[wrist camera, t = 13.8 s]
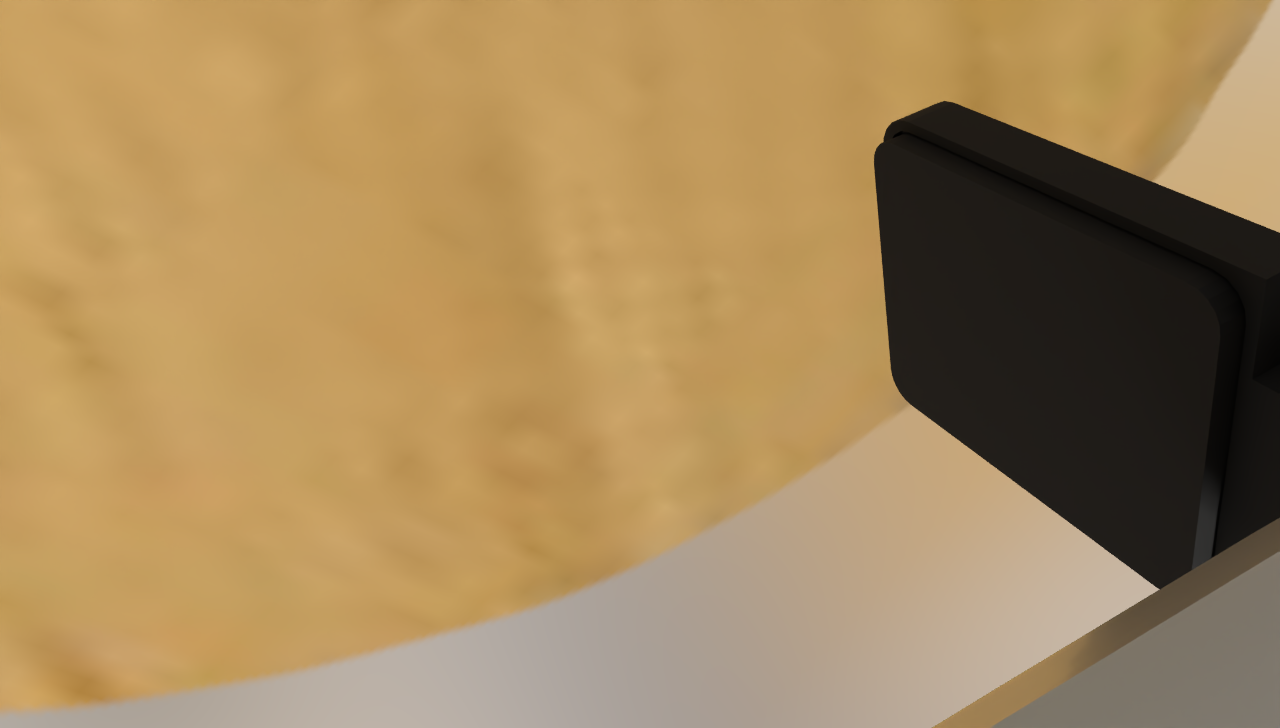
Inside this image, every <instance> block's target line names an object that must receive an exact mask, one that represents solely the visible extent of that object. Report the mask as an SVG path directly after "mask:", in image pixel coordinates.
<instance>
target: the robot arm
mask: <svg viewBox="0 0 1280 728" xmlns="http://www.w3.org/2000/svg"><path fill="white" fill-rule="evenodd" d="M874 169H875V181H876V193H877V205H878V217H879V229H880V241H881V253H882V265H883V278H884V290H885V302H886V314H887V326H888V338H889V350H890V362H891V371H892V376H893V379H894V382H895V384H896V386H897V388H898V390H899V392H900V393H901V394H902V396H903V397H904V398H905V400H906V401H908V402H909V403H910V404H911V405H912V406H913V407H915V408H916V409H918V410H919V411H920V412H922V413H923V414H924V415H926V416H927V417H928V418H930V419H931V420H932V421H934V422H935V423H936V424H938V425H939V426H940V427H942V428H943V429H944V430H946V431H947V432H948V433H950V434H951V435H952V436H954V437H955V438H957V439H958V440H959V441H961V442H962V443H963V444H964V445H966V446H967V447H968V448H970V449H971V450H973V451H974V452H975V453H977V454H978V455H979V456H981V457H982V458H983V459H985V460H986V461H987V462H989V463H990V464H991V465H993V466H994V467H996V468H997V469H998V470H999V471H1001V472H1002V473H1004V474H1005V475H1006V476H1007V477H1009V478H1011V479H1012V480H1013V481H1014V482H1016V483H1017V484H1018V485H1020V486H1021V487H1022V488H1024V489H1025V490H1026V491H1028V492H1029V493H1030V494H1032V495H1033V496H1034V497H1036V498H1037V499H1039V500H1040V501H1041V502H1042V503H1044V504H1045V505H1046V506H1048V507H1049V508H1051V509H1052V510H1053V511H1055V512H1056V513H1057V514H1059V515H1060V516H1061V517H1063V518H1064V519H1065V520H1067V521H1068V522H1069V523H1071V524H1072V525H1073V526H1075V527H1076V528H1077V529H1079V530H1080V531H1082V532H1083V533H1084V534H1086V535H1087V536H1088V537H1090V538H1091V539H1092V540H1094V541H1095V542H1096V543H1098V544H1099V545H1100V546H1102V547H1103V548H1104V549H1106V550H1107V551H1108V552H1110V553H1111V554H1112V555H1114V556H1115V557H1116V558H1118V559H1119V560H1120V561H1122V562H1123V563H1125V564H1126V565H1127V566H1129V567H1130V568H1131V569H1133V570H1134V571H1135V572H1137V573H1138V574H1139V575H1141V576H1142V577H1143V578H1145V579H1146V580H1147V581H1149V582H1150V583H1151V584H1153V585H1154V586H1155V587H1157V588H1159V589H1160V590H1158V591H1157V592H1155V593H1153V594H1152V595H1150V596H1148V597H1147V598H1145V599H1144V600H1142V601H1140V602H1138V603H1137V604H1135V605H1134V606H1132V607H1130V608H1129V609H1127V610H1125V611H1124V612H1122V613H1120V614H1119V615H1117V616H1115V617H1114V618H1112V619H1111V620H1109V621H1107V622H1105V623H1104V624H1102V625H1100V626H1099V627H1097V628H1096V629H1094V630H1092V631H1091V632H1089V633H1087V634H1086V635H1084V636H1082V637H1081V638H1079V639H1077V640H1076V641H1074V642H1072V643H1071V644H1069V645H1068V646H1066V647H1064V648H1062V649H1061V650H1059V651H1057V652H1056V653H1054V654H1053V655H1051V656H1050V657H1048V658H1046V659H1044V660H1043V661H1041V662H1039V663H1038V664H1036V665H1034V666H1033V667H1031V668H1030V669H1028V670H1026V671H1024V672H1023V673H1021V674H1020V675H1018V676H1016V677H1014V678H1013V679H1011V680H1010V681H1008V682H1007V683H1005V684H1003V685H1001V686H1000V687H998V688H996V689H995V690H993V691H991V692H990V693H988V694H987V695H985V696H983V697H982V698H980V699H978V700H977V701H975V702H973V703H972V704H970V705H969V706H967V707H965V708H964V709H962V710H960V711H959V712H957V713H956V714H954V715H952V716H950V717H949V718H947V719H946V720H944V721H942V722H941V723H939V724H937V725H936V726H935V727H932V728H1280V233H1279V232H1276V231H1274V230H1271V229H1268V228H1266V227H1264V226H1261V225H1259V224H1256V223H1254V222H1251V221H1249V220H1246V219H1244V218H1241V217H1239V216H1236V215H1234V214H1231V213H1228V212H1226V211H1224V210H1221V209H1218V208H1216V207H1214V206H1211V205H1209V204H1206V203H1203V202H1201V201H1199V200H1196V199H1194V198H1191V197H1188V196H1186V195H1184V194H1181V193H1178V192H1176V191H1173V190H1171V189H1169V188H1166V187H1163V186H1161V185H1158V184H1156V183H1153V182H1151V181H1148V180H1146V179H1143V178H1141V177H1138V176H1136V175H1133V174H1131V173H1128V172H1126V171H1123V170H1121V169H1118V168H1116V167H1113V166H1111V165H1108V164H1106V163H1103V162H1101V161H1098V160H1096V159H1093V158H1091V157H1088V156H1086V155H1083V154H1081V153H1078V152H1076V151H1073V150H1071V149H1068V148H1066V147H1063V146H1061V145H1058V144H1056V143H1053V142H1051V141H1048V140H1046V139H1043V138H1041V137H1038V136H1036V135H1033V134H1031V133H1028V132H1026V131H1023V130H1021V129H1018V128H1016V127H1013V126H1011V125H1008V124H1006V123H1003V122H1001V121H998V120H996V119H993V118H991V117H988V116H986V115H983V114H981V113H978V112H976V111H973V110H971V109H968V108H966V107H963V106H961V105H958V104H956V103H953V102H947V101H943V102H940V103H937V104H934V105H932V106H930V107H927V108H925V109H923V110H920V111H918V112H916V113H913V114H911V115H909V116H906V117H904V118H901V119H899V120H897V121H894V122H892V123H891V124H890V125H889V127H888V128H887V129H886V132H885V136H884V142H883V143H881V144H880V145H879V146H878V147H877V148H876V151H875V155H874Z"/></svg>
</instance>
